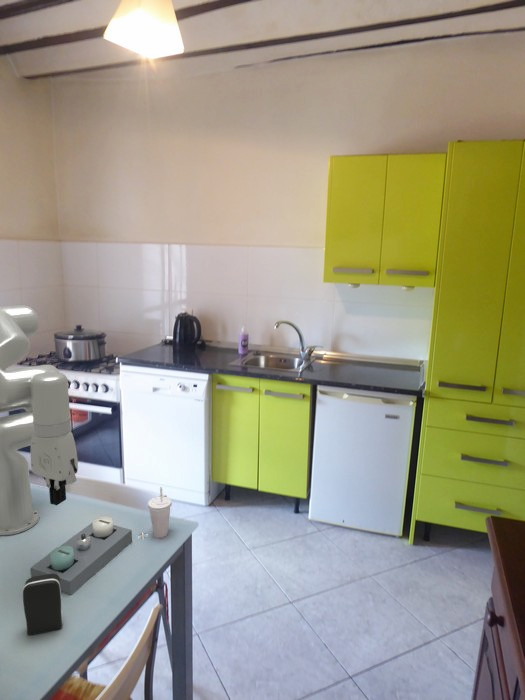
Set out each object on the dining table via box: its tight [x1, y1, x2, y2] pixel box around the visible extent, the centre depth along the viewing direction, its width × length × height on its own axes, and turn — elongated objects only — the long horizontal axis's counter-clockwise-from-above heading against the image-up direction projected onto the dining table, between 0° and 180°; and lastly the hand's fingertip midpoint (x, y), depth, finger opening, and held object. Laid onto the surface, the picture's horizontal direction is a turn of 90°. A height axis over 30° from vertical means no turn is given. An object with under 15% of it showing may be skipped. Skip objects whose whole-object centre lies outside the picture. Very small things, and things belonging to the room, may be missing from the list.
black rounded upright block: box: [22, 573, 64, 636], centre depth 97 cm, size 7×4×11 cm, turn 108°
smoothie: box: [147, 486, 173, 539], centre depth 129 cm, size 6×6×14 cm
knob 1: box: [49, 545, 74, 573], centre depth 112 cm, size 5×5×6 cm
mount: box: [29, 521, 133, 596], centre depth 119 cm, size 12×22×4 cm, turn 158°
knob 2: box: [92, 516, 114, 540], centre depth 125 cm, size 5×5×6 cm
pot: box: [77, 534, 91, 551], centre depth 118 cm, size 3×3×4 cm
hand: (58, 501), depth 110 cm, fingers closed
